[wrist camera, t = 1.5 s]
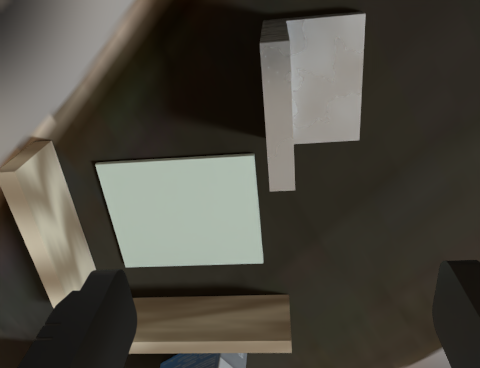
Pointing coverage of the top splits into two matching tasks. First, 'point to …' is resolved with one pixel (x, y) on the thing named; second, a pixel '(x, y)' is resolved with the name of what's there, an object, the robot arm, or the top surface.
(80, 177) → the top surface
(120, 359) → the robot arm
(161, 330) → the corner walls
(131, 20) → the top surface
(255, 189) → the pad
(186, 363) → the label tape box
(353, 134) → the angle bracket
